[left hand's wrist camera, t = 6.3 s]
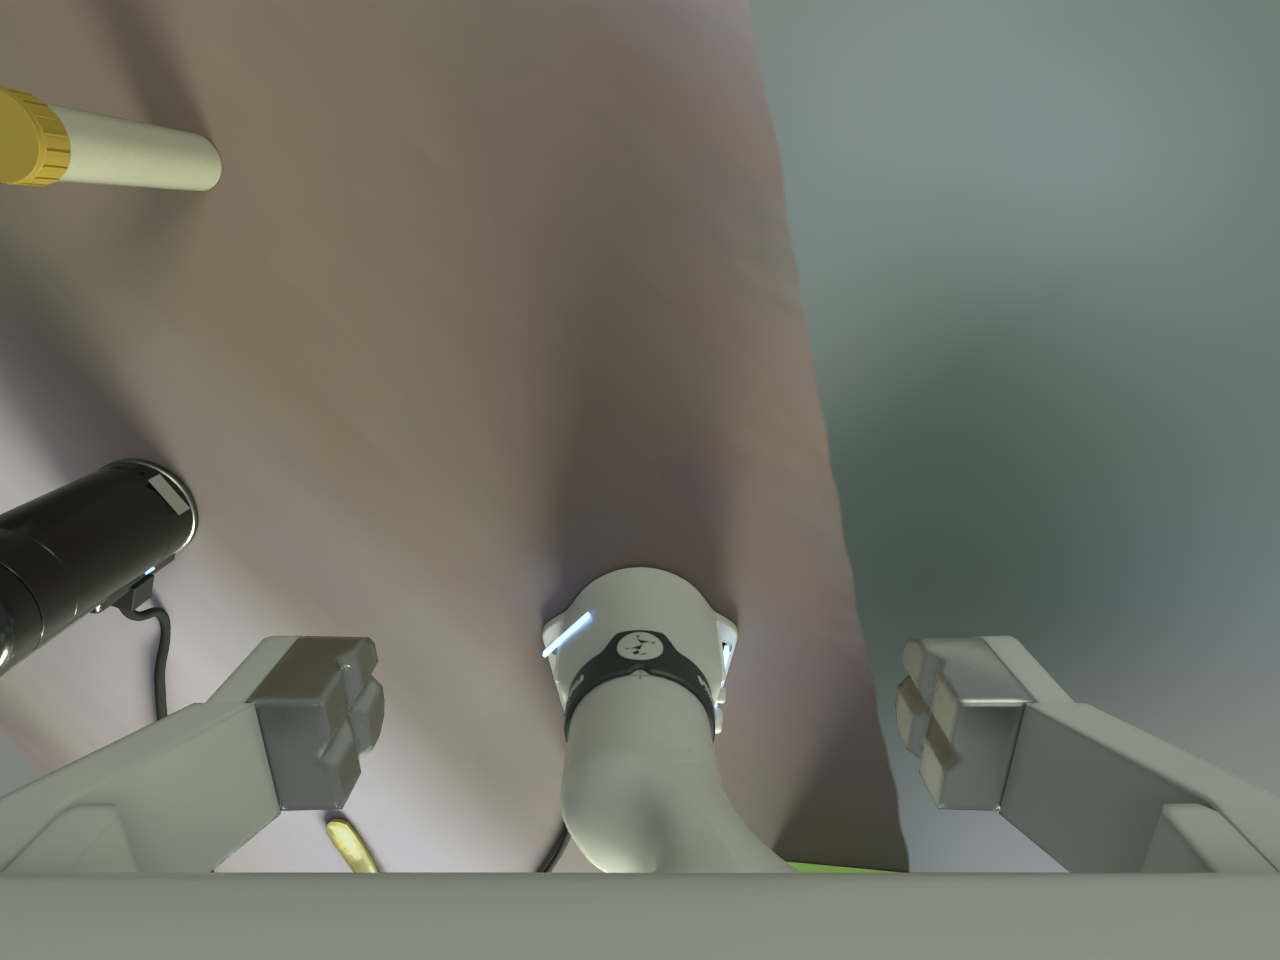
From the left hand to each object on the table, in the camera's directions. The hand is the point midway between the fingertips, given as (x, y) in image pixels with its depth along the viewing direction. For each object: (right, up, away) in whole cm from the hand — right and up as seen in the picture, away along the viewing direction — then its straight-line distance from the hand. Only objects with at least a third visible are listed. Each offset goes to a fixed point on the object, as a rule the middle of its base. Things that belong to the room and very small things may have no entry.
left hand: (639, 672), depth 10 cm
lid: (-34, +21, +25) cm, 47 cm away
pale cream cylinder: (-34, +27, +41) cm, 60 cm away
